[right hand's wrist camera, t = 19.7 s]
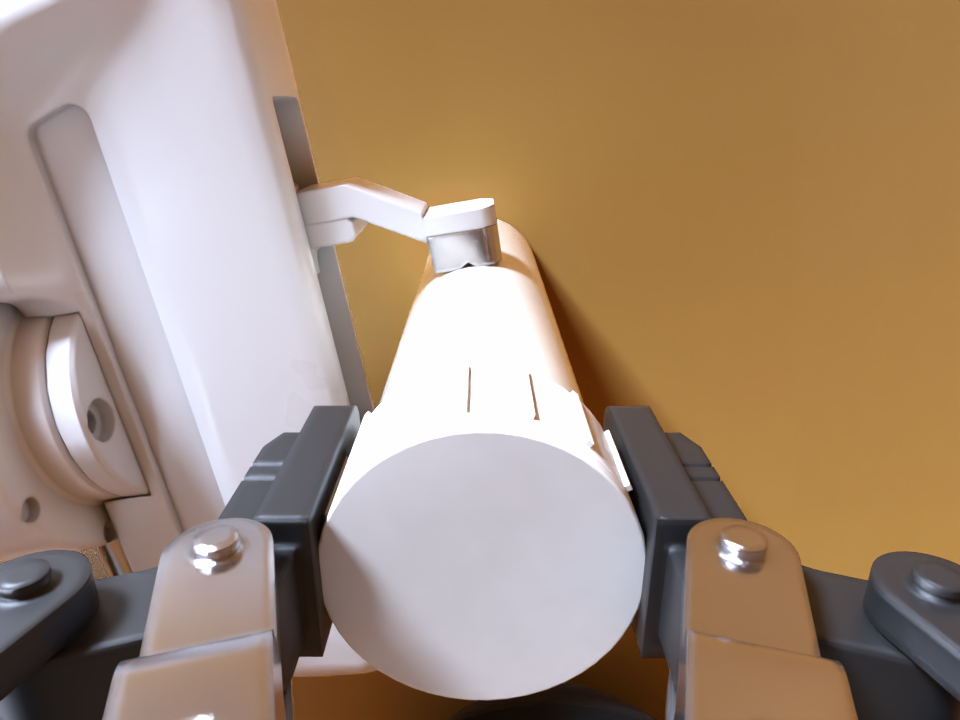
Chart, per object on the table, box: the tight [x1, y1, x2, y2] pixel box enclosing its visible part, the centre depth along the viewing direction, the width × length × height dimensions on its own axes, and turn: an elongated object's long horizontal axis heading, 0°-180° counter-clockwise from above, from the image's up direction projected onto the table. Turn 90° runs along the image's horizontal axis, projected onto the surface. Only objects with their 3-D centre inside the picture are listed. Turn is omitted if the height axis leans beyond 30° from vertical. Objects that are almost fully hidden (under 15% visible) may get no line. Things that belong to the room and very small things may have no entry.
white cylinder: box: [379, 219, 584, 405], centre depth 17 cm, size 4×4×16 cm
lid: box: [318, 362, 646, 700], centre depth 10 cm, size 4×4×2 cm
